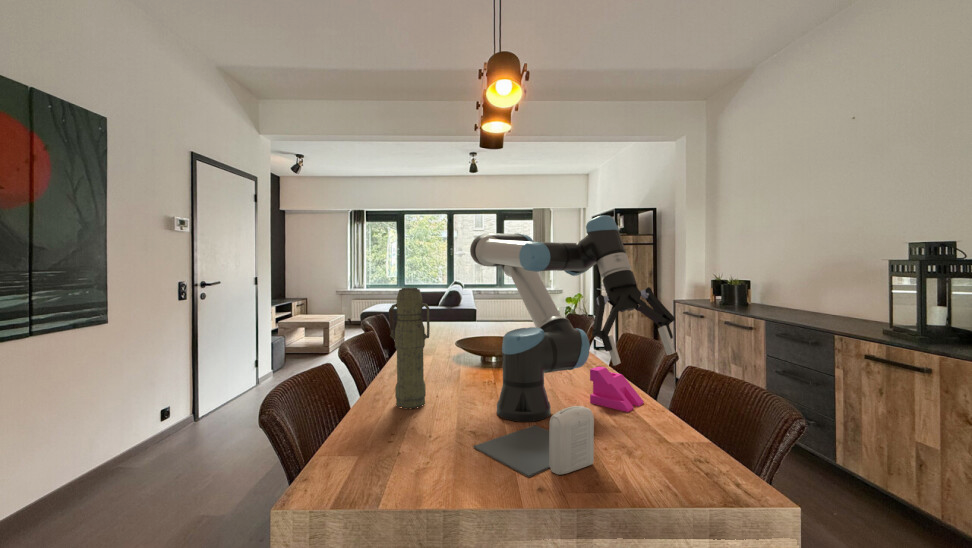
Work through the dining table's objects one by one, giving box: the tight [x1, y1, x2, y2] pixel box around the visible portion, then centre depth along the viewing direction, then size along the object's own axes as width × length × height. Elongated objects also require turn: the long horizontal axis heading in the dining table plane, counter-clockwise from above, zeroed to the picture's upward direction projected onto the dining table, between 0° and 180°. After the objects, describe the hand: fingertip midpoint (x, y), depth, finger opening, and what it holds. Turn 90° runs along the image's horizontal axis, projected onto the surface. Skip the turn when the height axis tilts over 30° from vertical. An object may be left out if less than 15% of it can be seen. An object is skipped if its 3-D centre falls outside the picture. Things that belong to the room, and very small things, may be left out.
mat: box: [472, 424, 551, 478], centre depth 98 cm, size 18×20×1 cm
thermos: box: [388, 287, 431, 409], centre depth 129 cm, size 9×12×35 cm
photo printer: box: [548, 405, 595, 476], centre depth 89 cm, size 10×4×12 cm, turn 123°
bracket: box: [589, 366, 644, 413], centre depth 130 cm, size 12×10×10 cm
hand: (644, 359), depth 100 cm, fingers open, 13 cm apart
